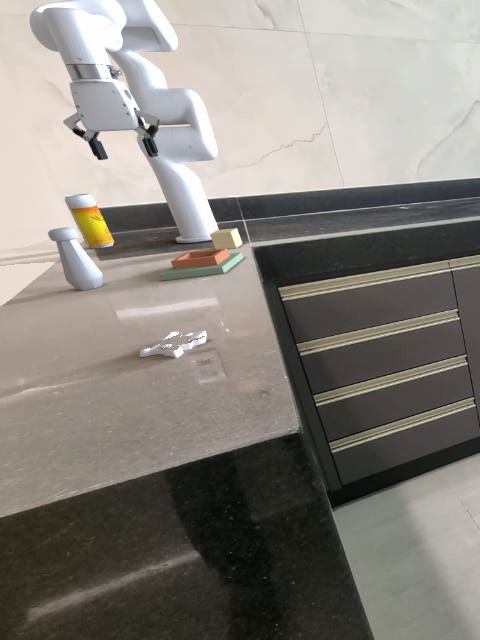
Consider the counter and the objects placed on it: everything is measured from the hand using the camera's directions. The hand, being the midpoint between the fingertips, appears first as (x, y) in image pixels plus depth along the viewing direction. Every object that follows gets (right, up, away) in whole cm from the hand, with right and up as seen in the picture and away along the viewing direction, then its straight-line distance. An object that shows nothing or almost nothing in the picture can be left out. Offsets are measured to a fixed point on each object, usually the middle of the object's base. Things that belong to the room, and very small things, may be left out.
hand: (129, 158), depth 123 cm
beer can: (-43, -13, +36) cm, 57 cm away
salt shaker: (-3, -31, -6) cm, 32 cm away
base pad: (+14, -25, +5) cm, 29 cm away
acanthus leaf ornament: (+47, -46, -41) cm, 77 cm away
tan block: (+2, -15, +27) cm, 31 cm away
